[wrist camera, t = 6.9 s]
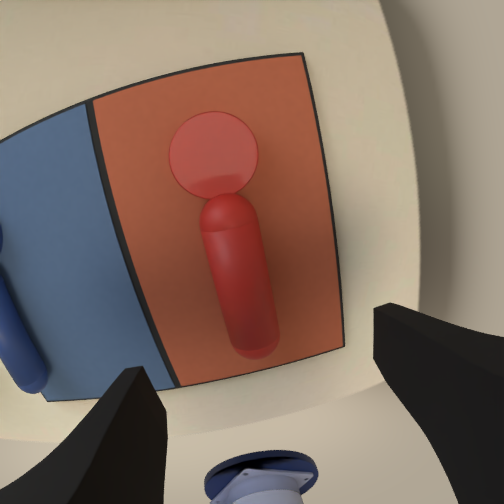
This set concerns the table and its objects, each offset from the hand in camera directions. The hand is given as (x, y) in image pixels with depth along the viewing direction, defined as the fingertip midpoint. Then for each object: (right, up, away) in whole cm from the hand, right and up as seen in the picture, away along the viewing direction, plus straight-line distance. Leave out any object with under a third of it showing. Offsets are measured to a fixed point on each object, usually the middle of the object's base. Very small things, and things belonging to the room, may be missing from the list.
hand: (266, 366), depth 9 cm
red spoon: (-1, +4, +5) cm, 7 cm away
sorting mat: (-6, +3, +6) cm, 9 cm away
